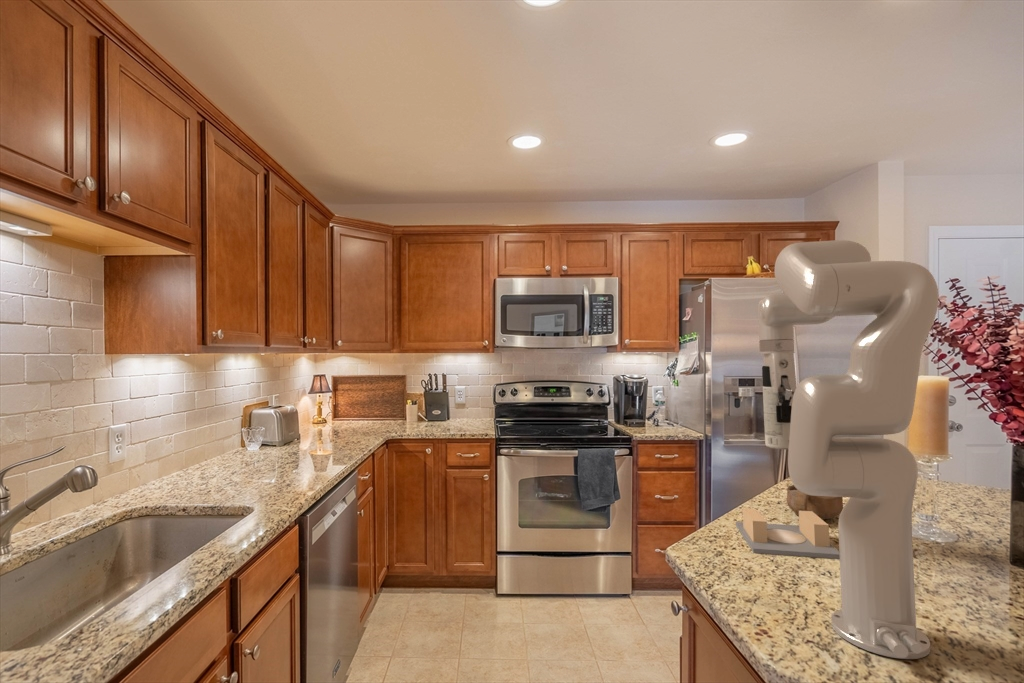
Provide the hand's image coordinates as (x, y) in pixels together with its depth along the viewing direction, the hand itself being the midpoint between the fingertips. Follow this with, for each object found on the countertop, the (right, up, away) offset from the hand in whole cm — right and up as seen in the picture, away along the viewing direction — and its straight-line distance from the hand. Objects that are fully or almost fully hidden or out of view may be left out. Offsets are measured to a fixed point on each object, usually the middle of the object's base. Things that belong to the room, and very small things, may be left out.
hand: (779, 419), depth 117 cm
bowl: (+18, -30, +14) cm, 38 cm away
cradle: (+1, -29, -1) cm, 29 cm away
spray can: (0, -7, 0) cm, 7 cm away
